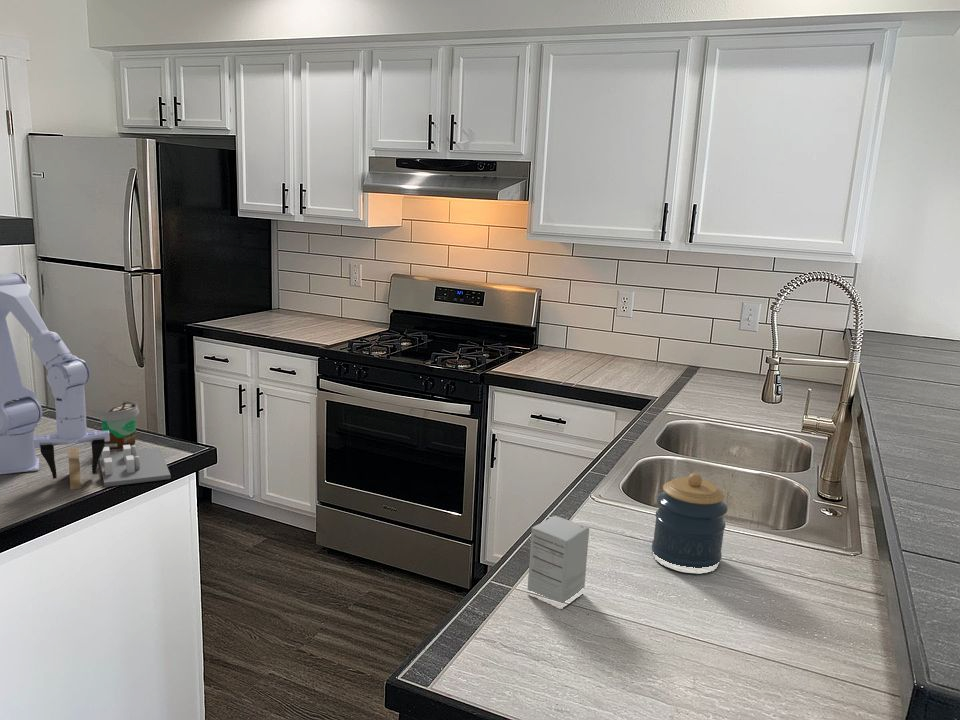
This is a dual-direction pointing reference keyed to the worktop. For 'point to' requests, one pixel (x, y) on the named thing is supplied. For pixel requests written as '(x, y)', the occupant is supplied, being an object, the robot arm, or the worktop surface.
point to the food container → (120, 425)
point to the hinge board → (132, 466)
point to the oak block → (74, 469)
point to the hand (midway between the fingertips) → (74, 474)
